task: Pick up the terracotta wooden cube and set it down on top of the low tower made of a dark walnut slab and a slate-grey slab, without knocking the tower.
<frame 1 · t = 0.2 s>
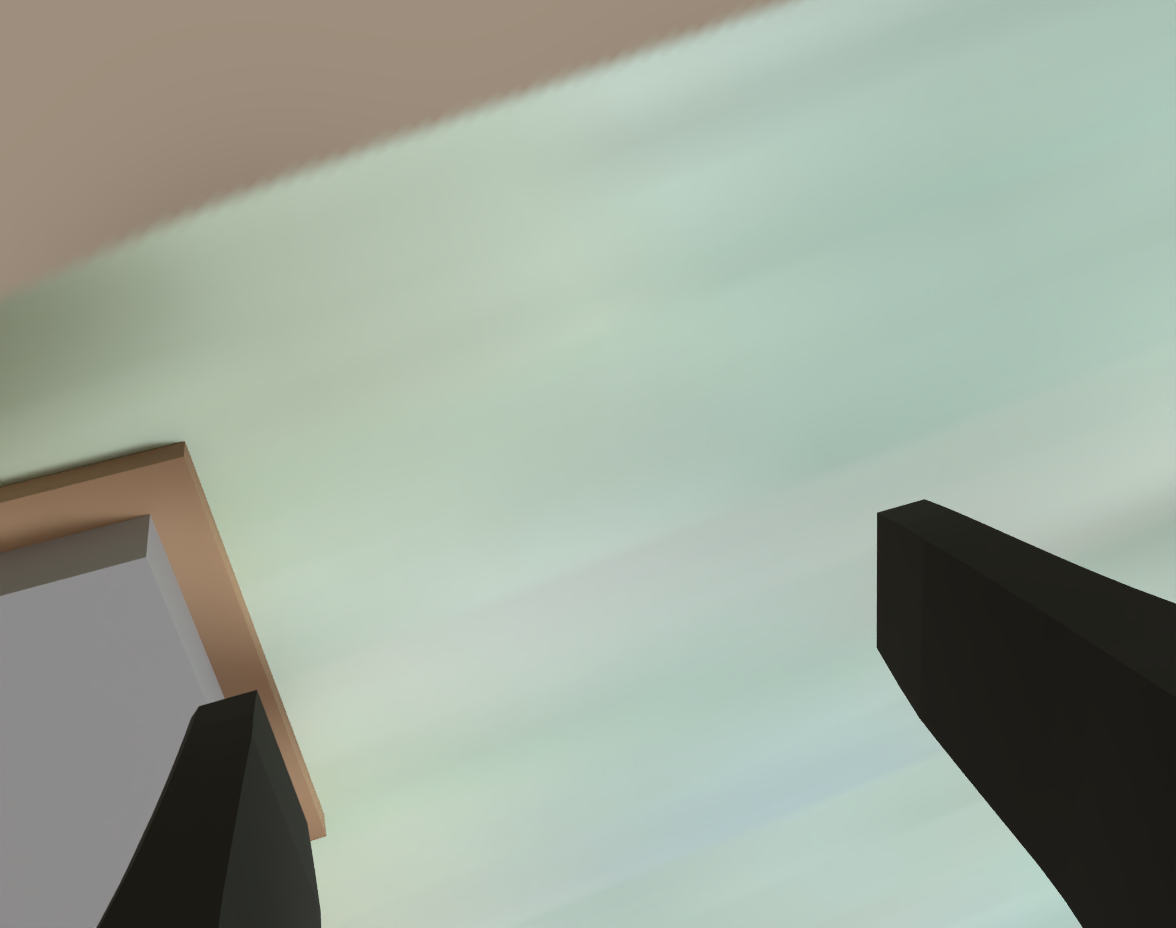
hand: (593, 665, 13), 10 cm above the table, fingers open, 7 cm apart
walnut base slab: (16, 692, 23), on the table, touching slate top slab
slate top slab: (9, 738, 22), point 1 cm above the table, touching walnut base slab
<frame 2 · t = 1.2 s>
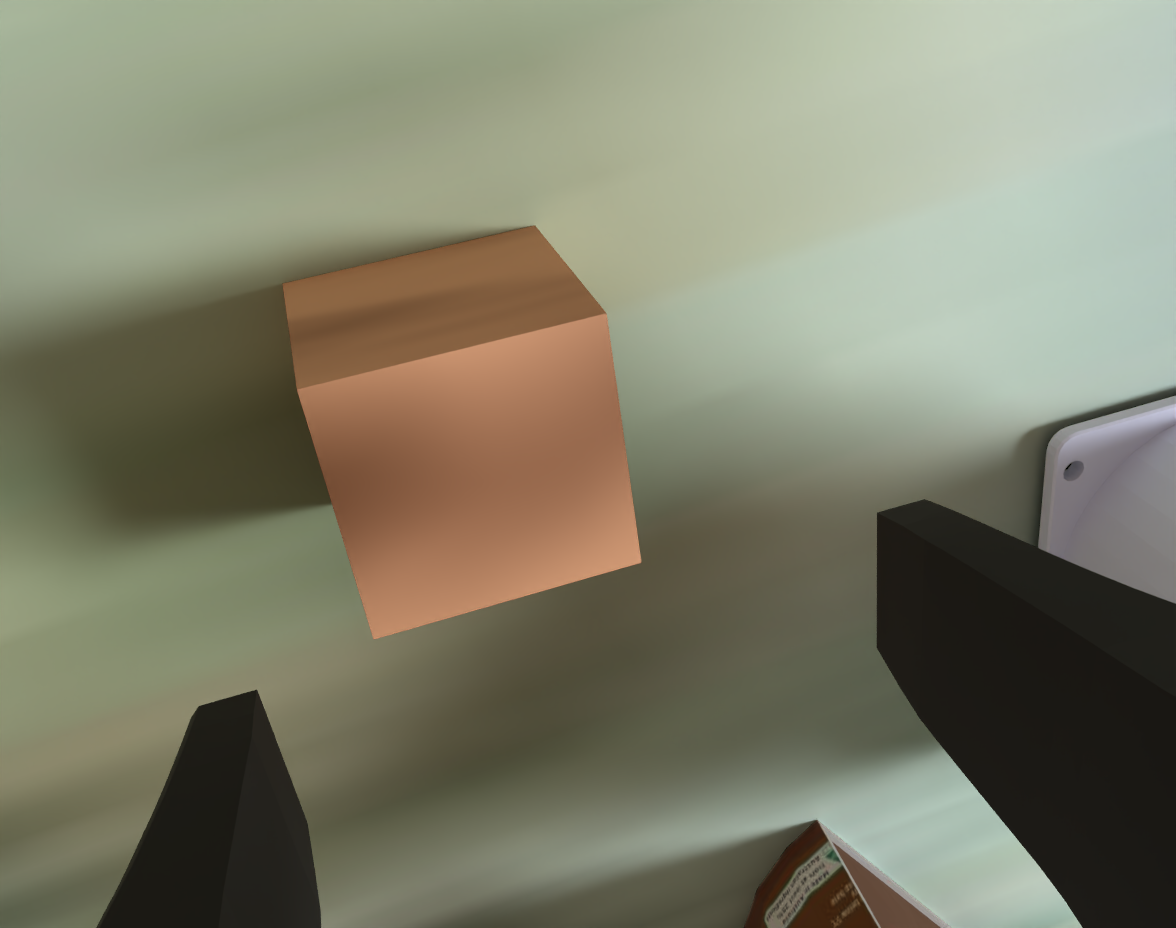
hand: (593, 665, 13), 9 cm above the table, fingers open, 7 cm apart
terracotta cube: (436, 367, 21), on the table
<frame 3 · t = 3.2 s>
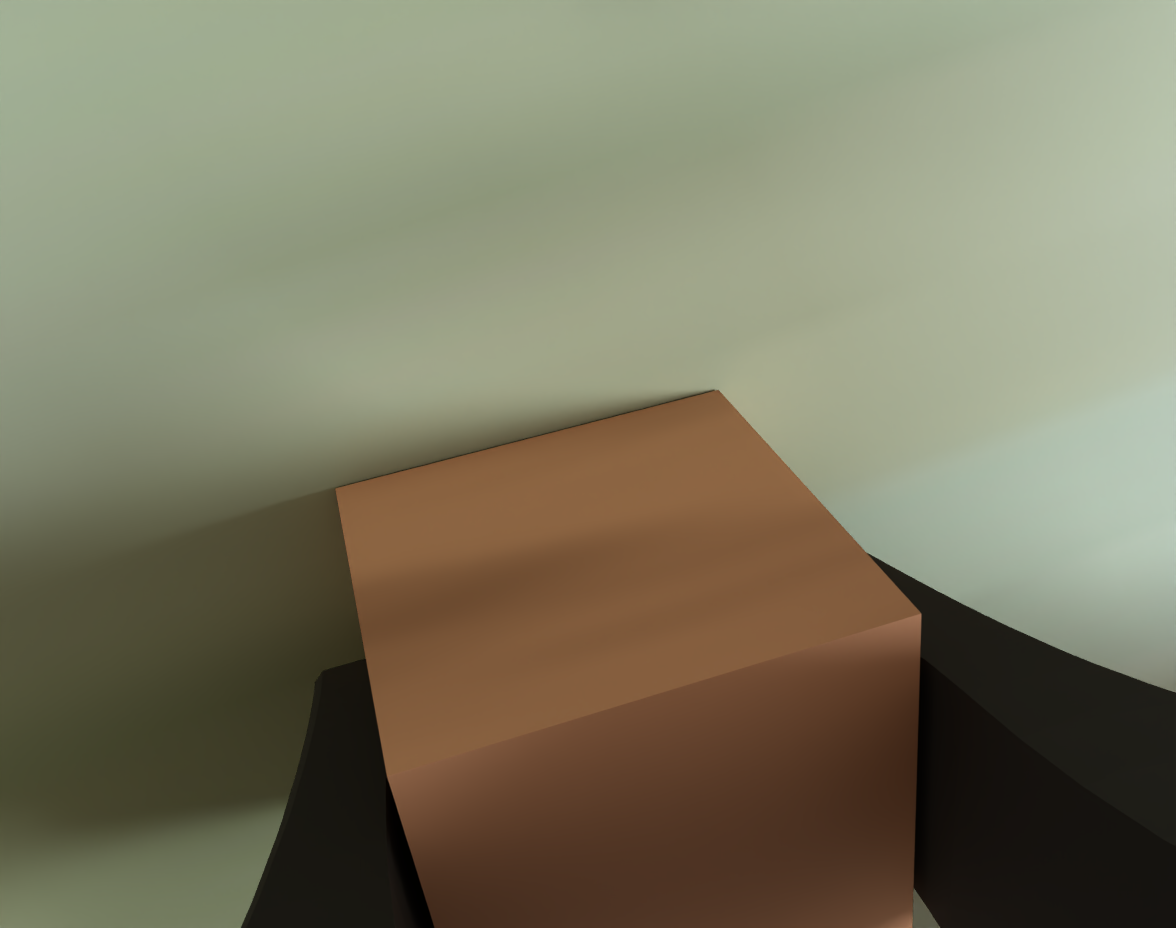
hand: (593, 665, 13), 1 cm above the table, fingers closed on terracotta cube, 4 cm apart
terracotta cube: (560, 594, 14), on the table, touching gripper
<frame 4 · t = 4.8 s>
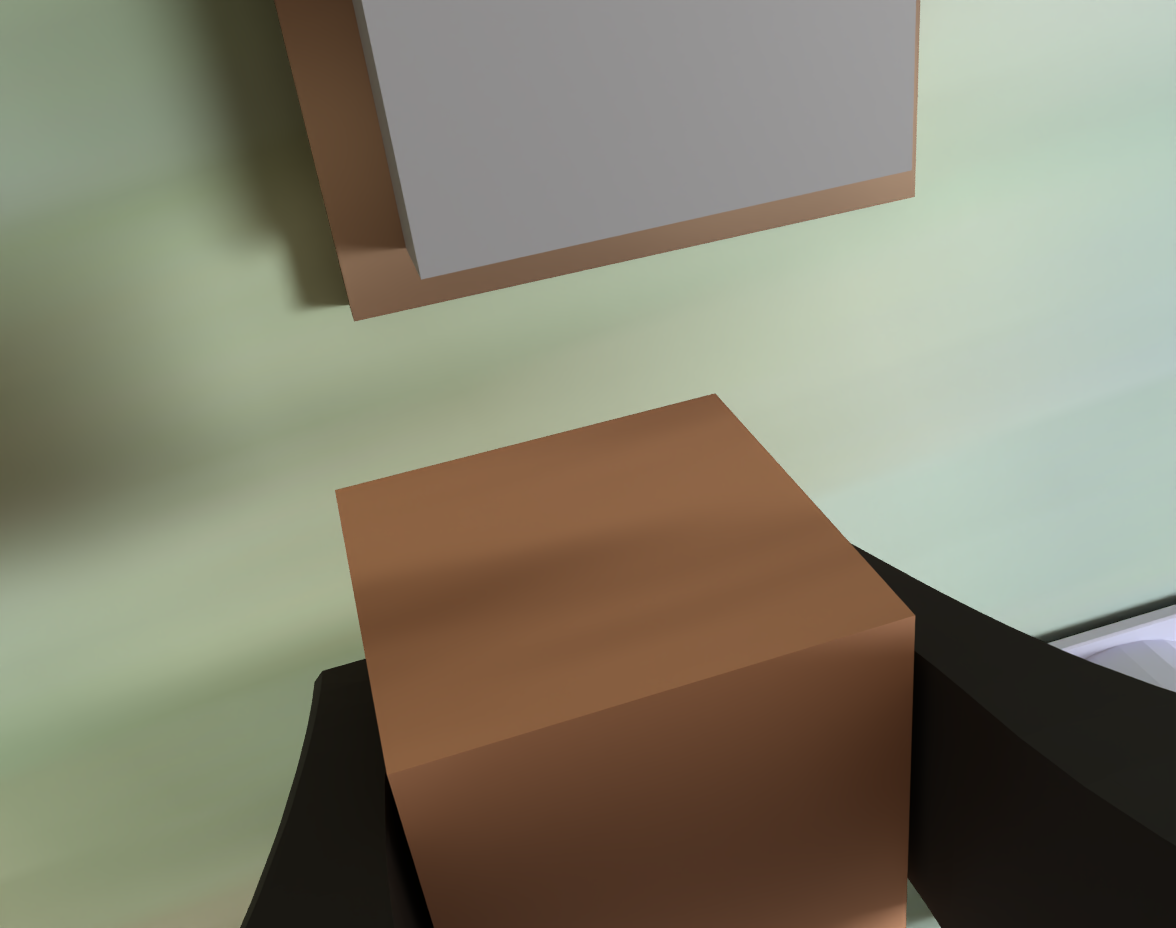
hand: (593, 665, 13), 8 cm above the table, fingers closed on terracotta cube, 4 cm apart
terracotta cube: (558, 596, 14), point 7 cm above the table, touching gripper
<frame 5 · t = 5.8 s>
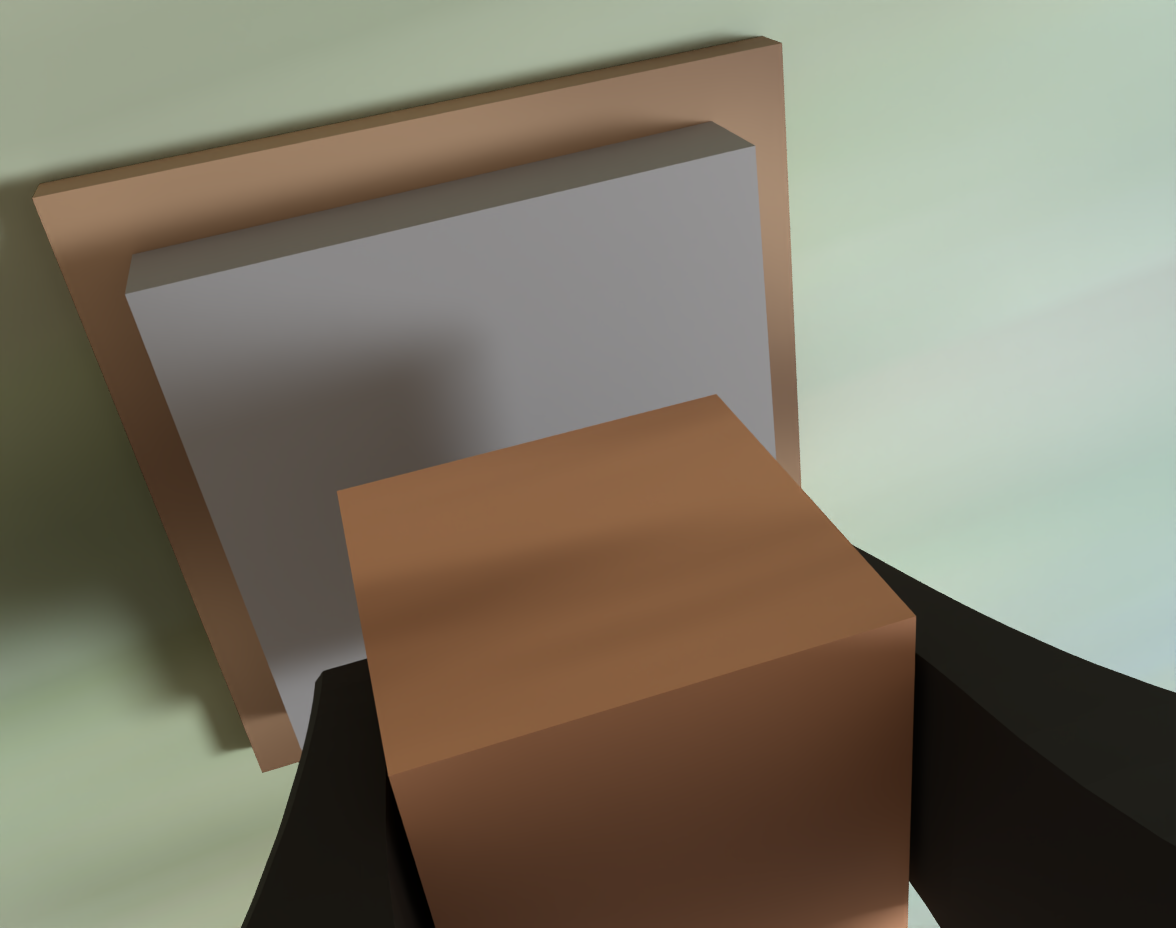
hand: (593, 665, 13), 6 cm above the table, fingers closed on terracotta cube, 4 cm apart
walnut base slab: (477, 402, 18), on the table, touching slate top slab
slate top slab: (491, 439, 17), point 1 cm above the table, touching walnut base slab
terracotta cube: (560, 596, 14), point 5 cm above the table, touching gripper
when the fingers open (5 cm above the table, at t = 6.4 s): terracotta cube drops 2 cm, point 2 cm above the table.
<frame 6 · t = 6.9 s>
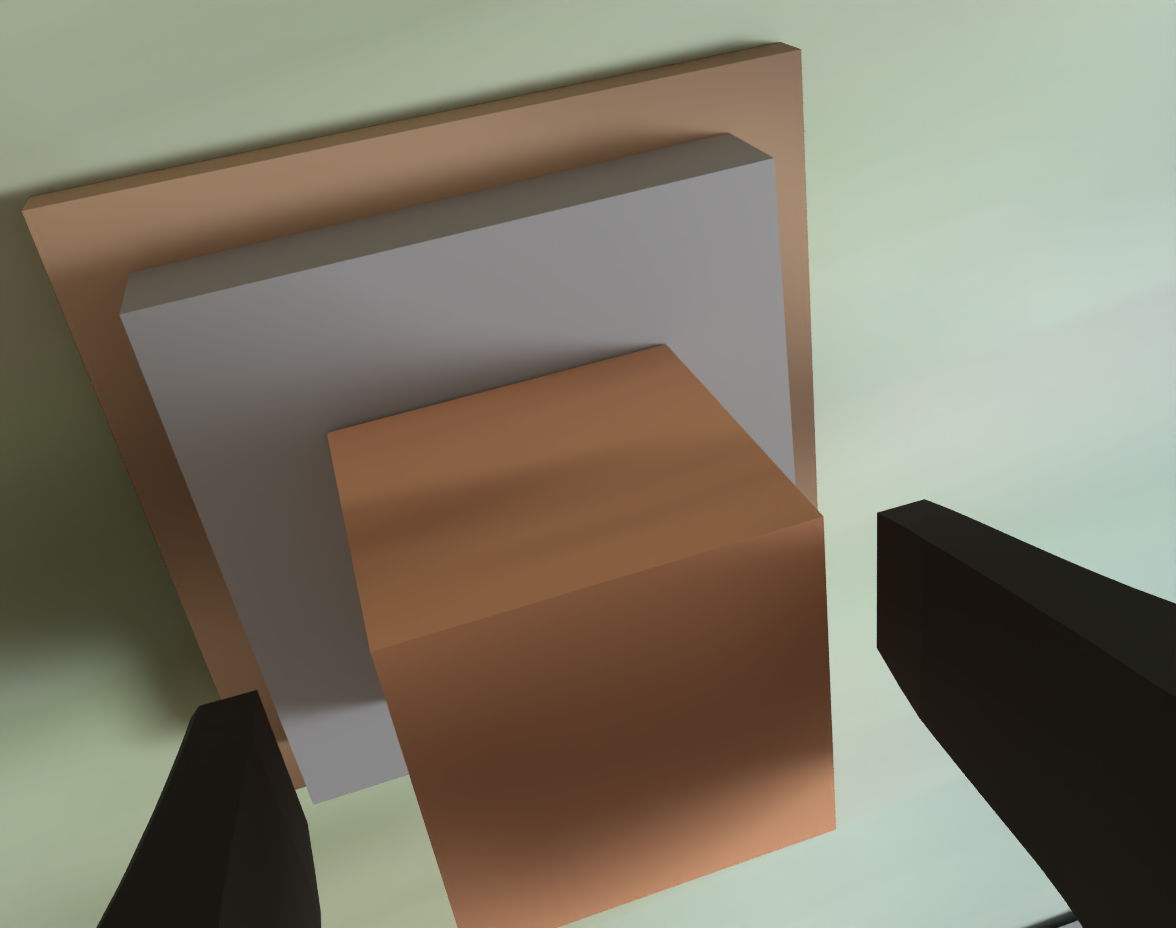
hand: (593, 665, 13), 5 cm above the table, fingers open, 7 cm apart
walnut base slab: (483, 419, 18), on the table, touching slate top slab
slate top slab: (500, 460, 17), point 1 cm above the table, touching walnut base slab
terracotta cube: (530, 530, 16), point 2 cm above the table
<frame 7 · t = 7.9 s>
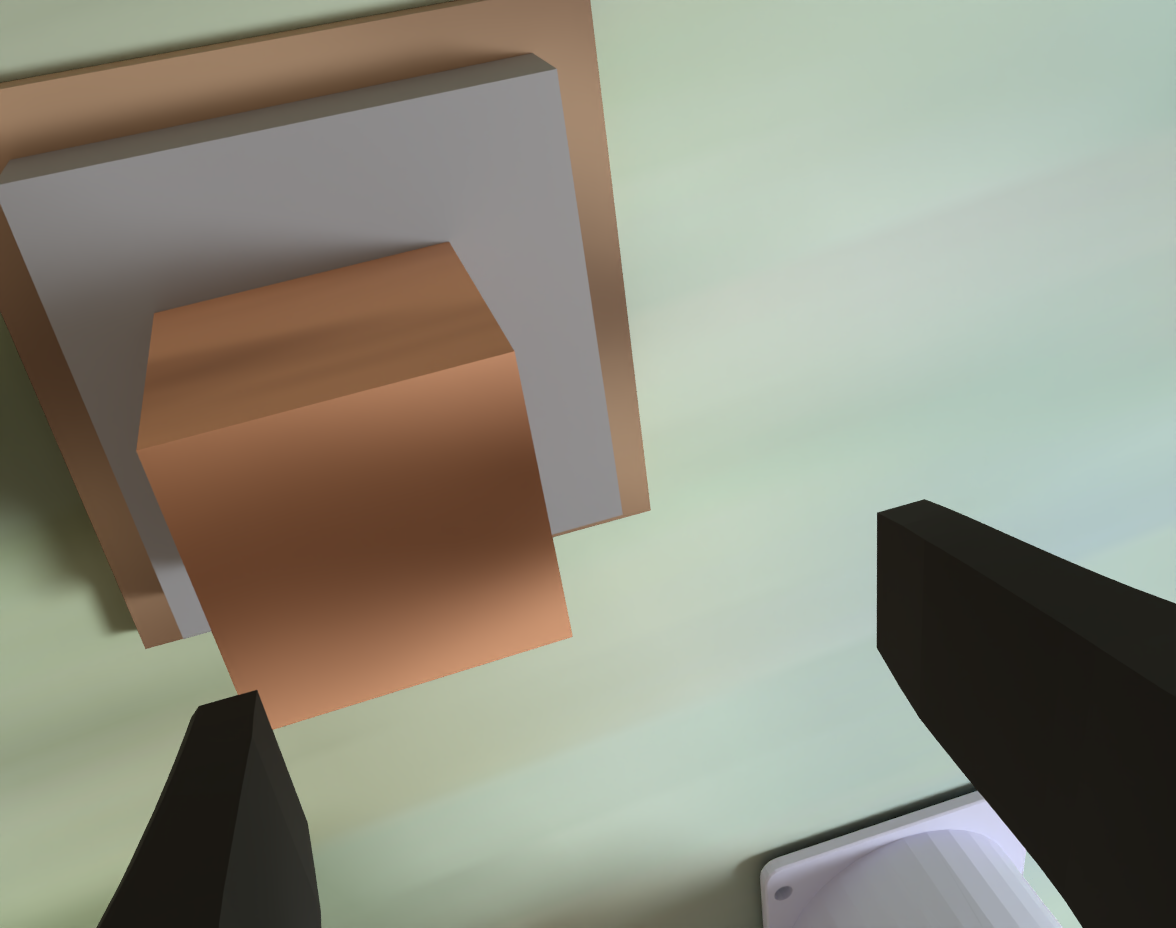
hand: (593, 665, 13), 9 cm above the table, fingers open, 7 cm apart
walnut base slab: (339, 313, 21), on the table, touching slate top slab
slate top slab: (346, 340, 19), point 1 cm above the table, touching terracotta cube, walnut base slab
terracotta cube: (343, 406, 18), point 2 cm above the table, touching slate top slab
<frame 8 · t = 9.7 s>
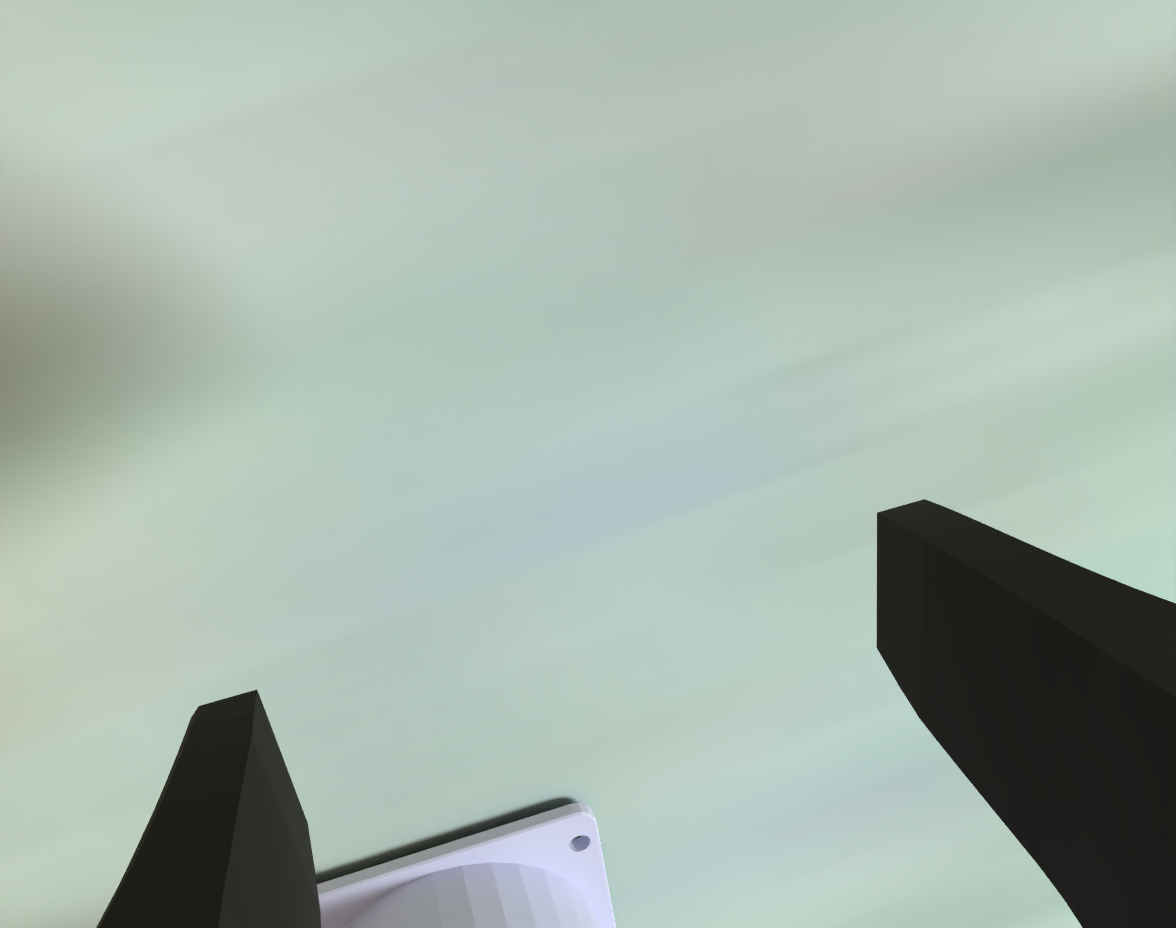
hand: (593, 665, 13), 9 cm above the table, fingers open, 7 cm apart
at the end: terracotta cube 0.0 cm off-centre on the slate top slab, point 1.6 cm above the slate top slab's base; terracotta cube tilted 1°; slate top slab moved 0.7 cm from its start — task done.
